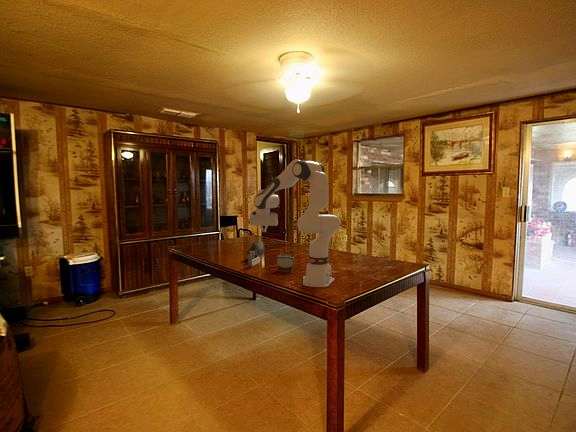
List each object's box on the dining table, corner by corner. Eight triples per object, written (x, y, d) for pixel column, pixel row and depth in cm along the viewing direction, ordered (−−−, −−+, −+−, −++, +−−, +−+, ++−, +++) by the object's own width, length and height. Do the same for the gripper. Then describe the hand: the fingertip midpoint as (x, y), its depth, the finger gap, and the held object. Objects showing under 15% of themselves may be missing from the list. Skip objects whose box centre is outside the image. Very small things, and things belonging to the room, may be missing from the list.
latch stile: (253, 263, 226) (253, 251, 225) (249, 262, 227) (249, 251, 226) (254, 262, 228) (254, 251, 227) (250, 262, 229) (250, 250, 228)
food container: (296, 269, 207) (296, 254, 207) (294, 271, 201) (294, 256, 201) (278, 268, 211) (278, 254, 210) (276, 270, 205) (276, 255, 204)
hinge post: (251, 268, 211) (251, 254, 211) (247, 267, 212) (247, 254, 211) (252, 267, 214) (252, 253, 213) (249, 266, 215) (248, 253, 214)
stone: (255, 256, 250) (255, 237, 249) (266, 257, 245) (265, 238, 244) (244, 259, 238) (244, 240, 236) (255, 261, 233) (255, 241, 231)
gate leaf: (252, 266, 214) (252, 260, 214) (250, 266, 215) (250, 260, 215) (260, 262, 228) (260, 256, 227) (258, 261, 228) (258, 256, 228)
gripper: (278, 212, 218) (279, 231, 219) (251, 211, 223) (251, 230, 224) (276, 212, 212) (276, 232, 213) (248, 212, 216) (248, 231, 218)
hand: (263, 231), depth 218 cm, fingers closed
